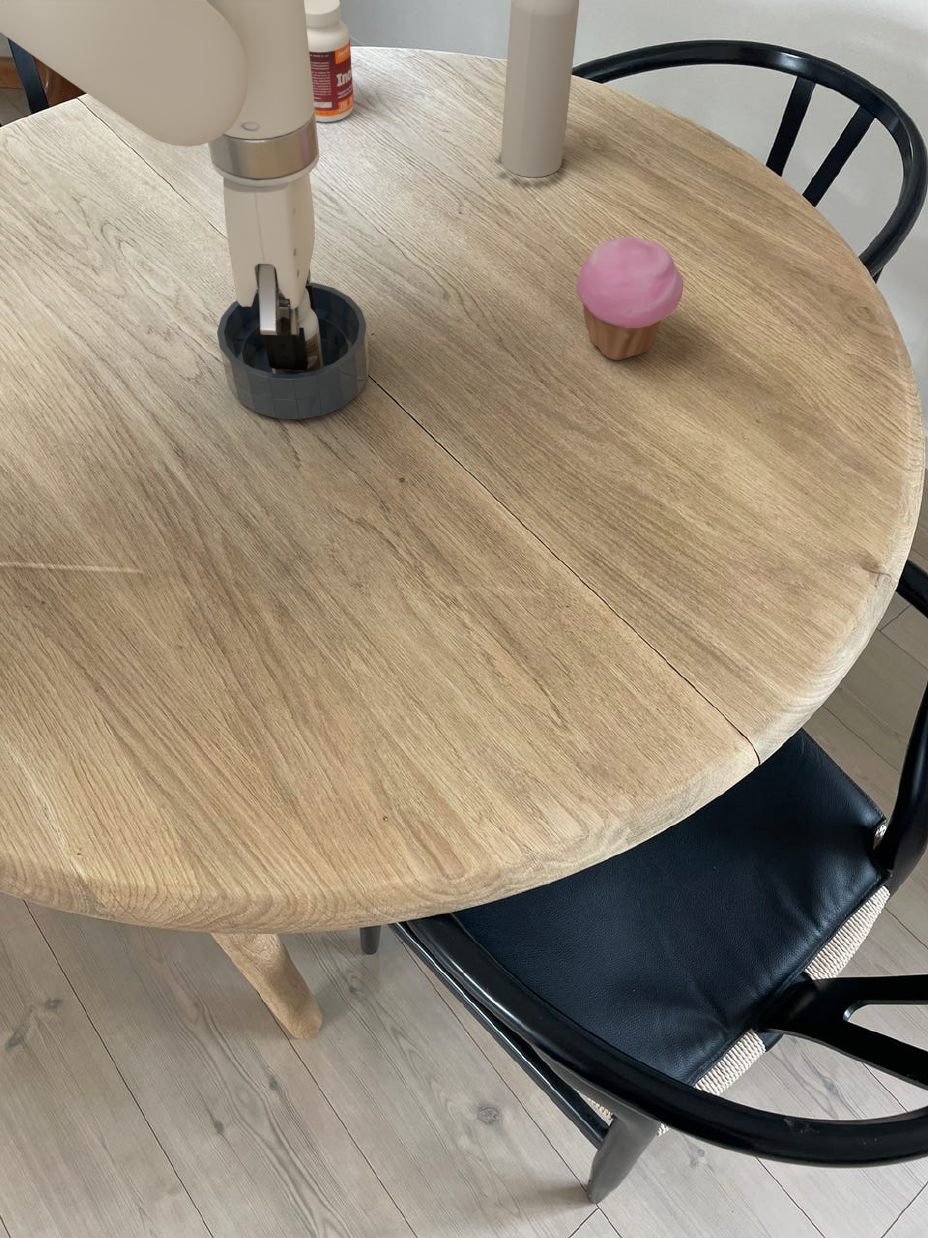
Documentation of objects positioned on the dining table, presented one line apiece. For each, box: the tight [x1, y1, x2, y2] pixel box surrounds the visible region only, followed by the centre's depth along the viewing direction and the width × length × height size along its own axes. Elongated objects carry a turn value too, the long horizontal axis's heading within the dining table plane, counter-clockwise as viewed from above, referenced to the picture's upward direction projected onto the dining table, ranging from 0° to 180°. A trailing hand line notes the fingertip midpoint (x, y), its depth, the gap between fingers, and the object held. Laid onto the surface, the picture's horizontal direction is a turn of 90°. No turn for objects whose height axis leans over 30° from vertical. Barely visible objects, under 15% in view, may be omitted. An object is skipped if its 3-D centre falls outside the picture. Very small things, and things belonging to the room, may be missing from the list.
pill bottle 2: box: [304, 0, 355, 123], centre depth 104 cm, size 6×6×11 cm
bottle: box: [500, 0, 580, 178], centre depth 93 cm, size 7×7×28 cm
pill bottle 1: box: [272, 288, 323, 374], centre depth 81 cm, size 4×4×8 cm
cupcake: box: [576, 236, 684, 361], centre depth 84 cm, size 9×9×10 cm
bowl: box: [216, 281, 370, 420], centre depth 83 cm, size 12×12×5 cm
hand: (293, 344), depth 82 cm, fingers closed on pill bottle 1, 4 cm apart
